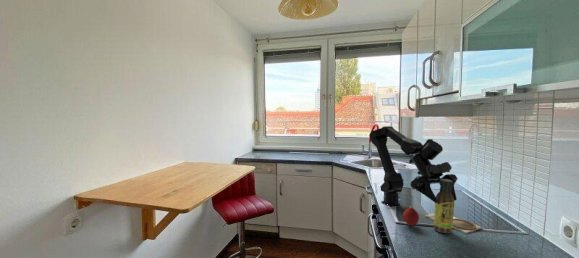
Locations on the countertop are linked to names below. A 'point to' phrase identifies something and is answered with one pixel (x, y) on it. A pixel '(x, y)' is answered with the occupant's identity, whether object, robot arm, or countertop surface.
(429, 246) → the countertop surface
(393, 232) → the countertop surface
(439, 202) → the sauce bottle
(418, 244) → the countertop surface
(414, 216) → the onion
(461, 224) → the beige flat board
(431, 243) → the countertop surface
